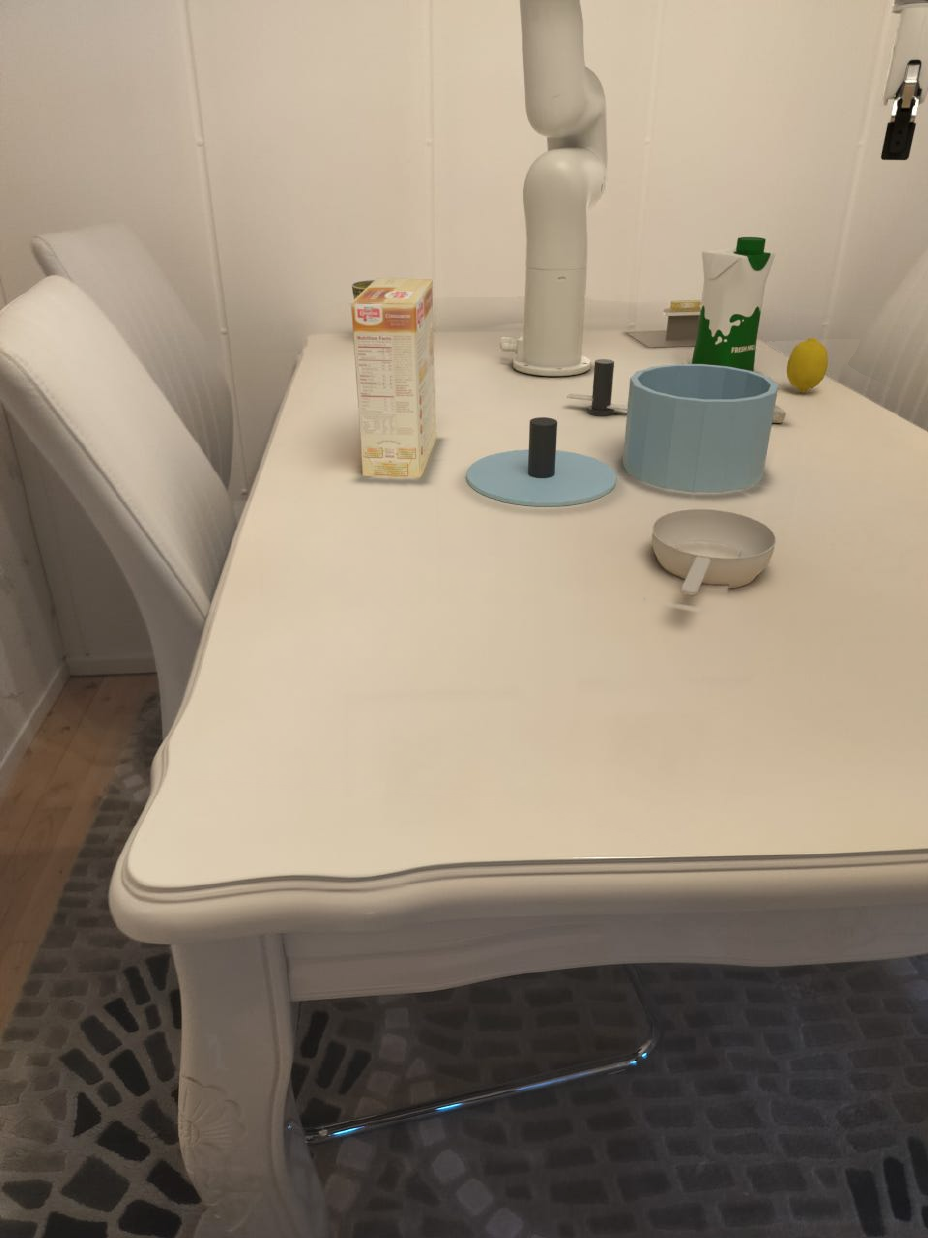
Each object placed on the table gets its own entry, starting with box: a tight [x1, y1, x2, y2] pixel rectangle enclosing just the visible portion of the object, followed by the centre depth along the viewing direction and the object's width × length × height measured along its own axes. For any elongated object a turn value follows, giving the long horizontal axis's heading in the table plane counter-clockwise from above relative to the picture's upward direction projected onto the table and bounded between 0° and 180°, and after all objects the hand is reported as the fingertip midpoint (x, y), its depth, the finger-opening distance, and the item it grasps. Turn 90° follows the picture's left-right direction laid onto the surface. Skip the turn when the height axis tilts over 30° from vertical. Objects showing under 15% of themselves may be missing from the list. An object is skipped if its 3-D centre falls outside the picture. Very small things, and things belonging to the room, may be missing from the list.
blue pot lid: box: [466, 416, 617, 507], centre depth 98 cm, size 17×17×7 cm
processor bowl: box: [622, 363, 780, 494], centre depth 100 cm, size 16×16×10 cm
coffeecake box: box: [349, 277, 437, 479], centre depth 102 cm, size 15×7×20 cm, turn 174°
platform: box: [627, 299, 701, 348], centre depth 162 cm, size 12×18×7 cm, turn 99°
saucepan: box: [651, 508, 777, 596], centre depth 77 cm, size 11×18×4 cm, turn 157°
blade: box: [566, 358, 628, 417], centre depth 121 cm, size 10×4×7 cm, turn 67°
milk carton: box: [690, 236, 776, 372], centre depth 137 cm, size 9×9×20 cm
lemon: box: [786, 337, 829, 394], centre depth 130 cm, size 6×6×8 cm
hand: (894, 157), depth 114 cm, fingers open, 9 cm apart
